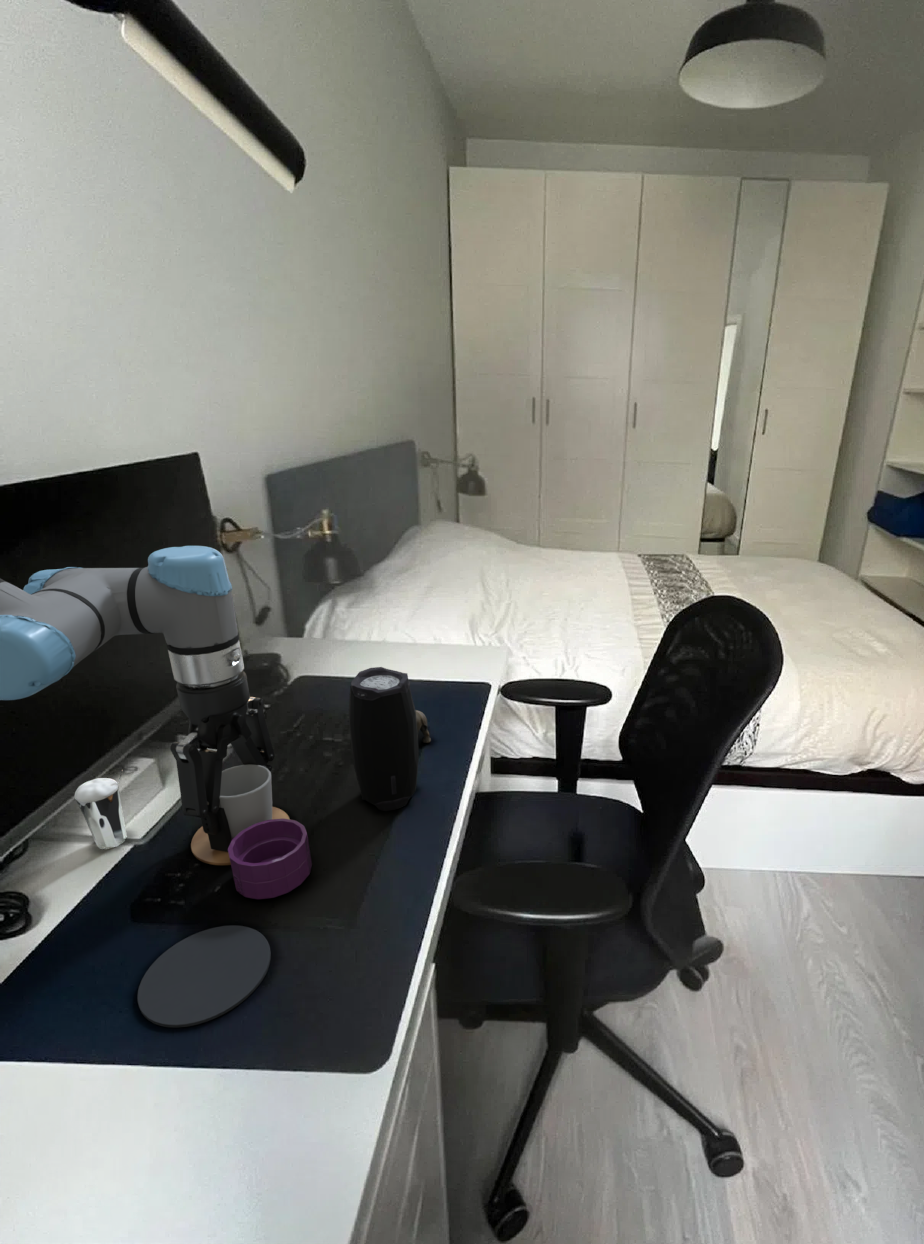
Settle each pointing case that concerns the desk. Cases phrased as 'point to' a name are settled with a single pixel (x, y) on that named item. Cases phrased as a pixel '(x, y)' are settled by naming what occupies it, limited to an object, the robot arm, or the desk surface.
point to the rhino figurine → (422, 726)
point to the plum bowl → (270, 858)
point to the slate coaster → (204, 976)
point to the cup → (246, 796)
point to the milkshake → (102, 811)
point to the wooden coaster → (216, 857)
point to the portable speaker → (384, 737)
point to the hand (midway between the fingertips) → (241, 830)
